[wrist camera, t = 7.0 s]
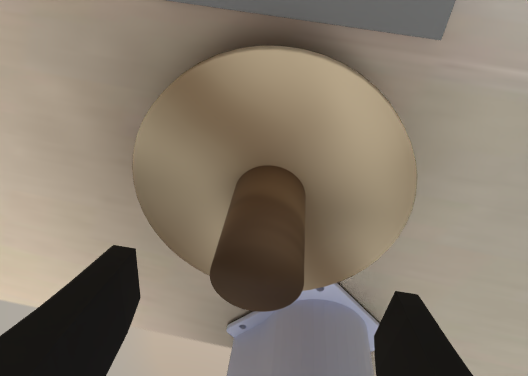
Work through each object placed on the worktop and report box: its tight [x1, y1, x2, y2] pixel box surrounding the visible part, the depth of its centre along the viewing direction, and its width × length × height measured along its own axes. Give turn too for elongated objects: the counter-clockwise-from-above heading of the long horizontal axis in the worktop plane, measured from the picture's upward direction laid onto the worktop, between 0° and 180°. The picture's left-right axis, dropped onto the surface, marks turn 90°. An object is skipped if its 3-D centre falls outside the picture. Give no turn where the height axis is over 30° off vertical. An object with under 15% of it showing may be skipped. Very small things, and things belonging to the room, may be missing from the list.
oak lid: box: [132, 46, 417, 312], centre depth 13 cm, size 11×11×5 cm
